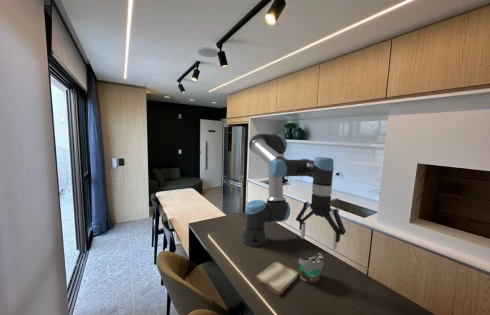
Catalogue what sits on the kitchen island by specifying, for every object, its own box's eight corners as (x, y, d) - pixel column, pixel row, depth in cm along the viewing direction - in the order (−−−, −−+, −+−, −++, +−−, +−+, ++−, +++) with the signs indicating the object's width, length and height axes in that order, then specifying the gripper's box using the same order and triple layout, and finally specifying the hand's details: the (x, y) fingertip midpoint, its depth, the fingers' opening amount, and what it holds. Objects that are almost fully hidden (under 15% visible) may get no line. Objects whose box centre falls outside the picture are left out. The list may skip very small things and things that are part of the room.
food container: (307, 290, 81) (309, 266, 80) (297, 280, 87) (298, 258, 86) (328, 281, 87) (330, 259, 86) (317, 272, 92) (319, 252, 92)
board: (254, 281, 85) (254, 276, 85) (275, 264, 97) (275, 260, 97) (279, 296, 77) (279, 291, 77) (298, 276, 89) (298, 272, 89)
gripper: (290, 190, 89) (287, 236, 91) (352, 203, 73) (347, 258, 75) (297, 187, 95) (294, 230, 97) (356, 198, 79) (352, 250, 81)
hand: (317, 242), depth 86 cm, fingers open, 13 cm apart
